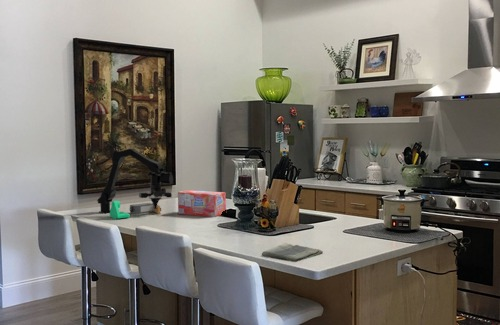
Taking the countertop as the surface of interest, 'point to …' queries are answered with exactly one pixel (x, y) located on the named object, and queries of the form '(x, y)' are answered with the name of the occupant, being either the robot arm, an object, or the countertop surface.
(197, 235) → the countertop surface
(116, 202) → the camera mount
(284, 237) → the countertop surface
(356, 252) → the countertop surface
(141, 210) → the housing
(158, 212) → the door
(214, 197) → the box
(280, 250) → the dish towel
